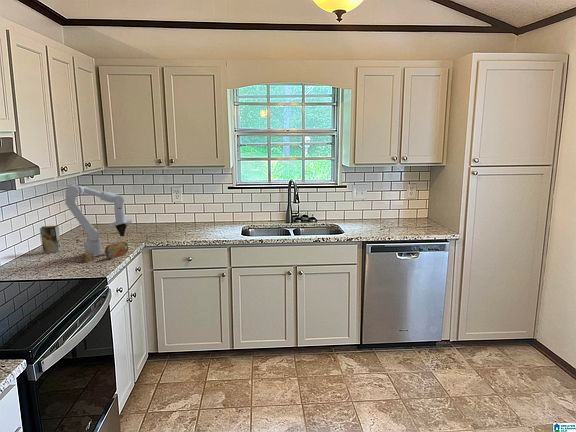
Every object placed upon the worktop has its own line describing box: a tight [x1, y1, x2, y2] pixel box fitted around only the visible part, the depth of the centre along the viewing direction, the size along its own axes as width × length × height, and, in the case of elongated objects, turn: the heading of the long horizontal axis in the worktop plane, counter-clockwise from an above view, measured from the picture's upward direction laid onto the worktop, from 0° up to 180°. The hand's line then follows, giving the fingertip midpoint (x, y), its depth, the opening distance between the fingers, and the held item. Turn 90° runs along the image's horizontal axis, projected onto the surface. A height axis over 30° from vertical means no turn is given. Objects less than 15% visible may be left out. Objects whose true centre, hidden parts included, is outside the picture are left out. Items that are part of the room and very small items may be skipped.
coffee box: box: [39, 225, 62, 254], centre depth 265 cm, size 9×6×16 cm
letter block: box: [80, 252, 95, 263], centre depth 243 cm, size 5×4×5 cm
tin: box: [104, 241, 129, 260], centre depth 250 cm, size 15×3×8 cm, turn 153°
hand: (122, 236), depth 261 cm, fingers closed
